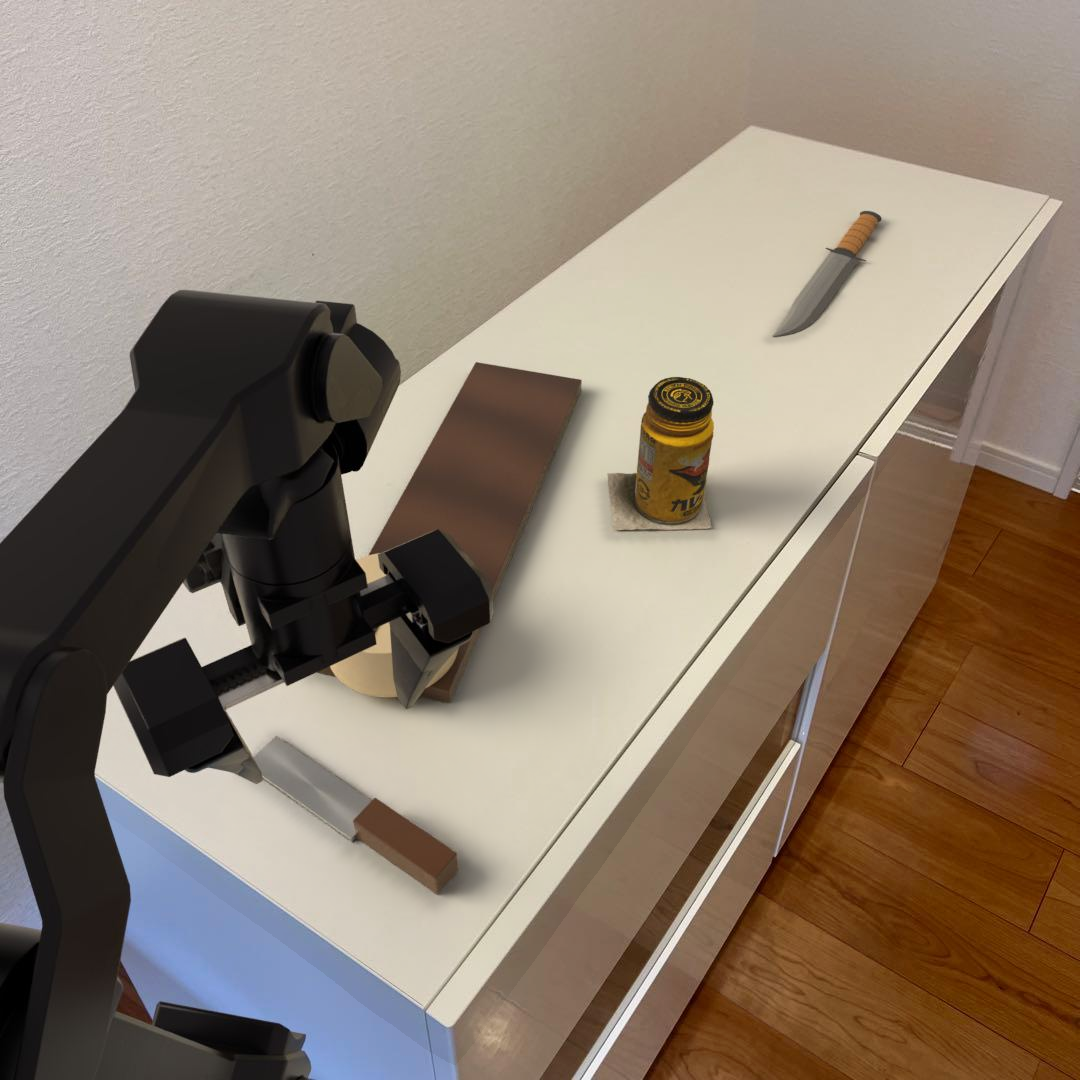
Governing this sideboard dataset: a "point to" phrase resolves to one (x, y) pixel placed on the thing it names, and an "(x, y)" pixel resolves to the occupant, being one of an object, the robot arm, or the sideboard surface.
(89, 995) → the robot arm
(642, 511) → the condiment
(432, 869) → the cake knife
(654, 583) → the sideboard surface
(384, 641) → the cake
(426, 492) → the serving board
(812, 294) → the knife
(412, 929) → the sideboard surface
